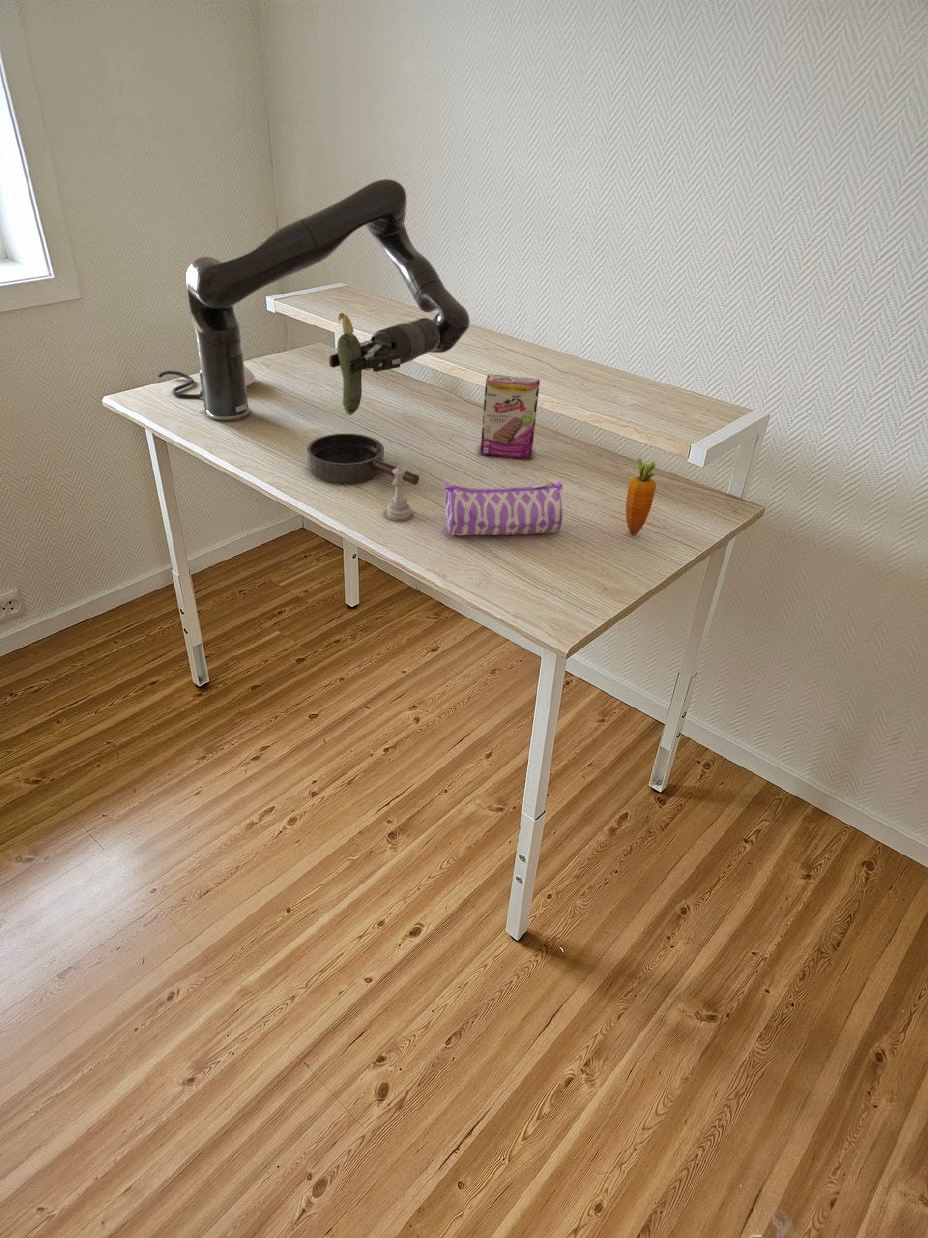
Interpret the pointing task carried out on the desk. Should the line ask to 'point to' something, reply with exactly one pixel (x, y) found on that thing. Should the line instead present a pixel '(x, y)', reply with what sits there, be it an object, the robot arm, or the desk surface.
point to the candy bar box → (509, 416)
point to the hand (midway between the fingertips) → (340, 364)
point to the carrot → (640, 498)
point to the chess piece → (398, 498)
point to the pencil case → (503, 510)
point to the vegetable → (346, 353)
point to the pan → (344, 458)
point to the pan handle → (389, 468)
